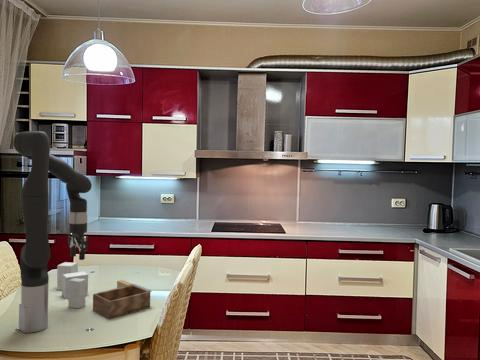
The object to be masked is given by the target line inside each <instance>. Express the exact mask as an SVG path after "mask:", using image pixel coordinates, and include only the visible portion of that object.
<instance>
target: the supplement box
mask: <svg viewBox="0 0 480 360" xmlns="http://www.w3.org/2000/svg"><path fill="white" fill-rule="evenodd" d="M78 263H79V262H67V261H64V262H62V263H60V264H58V265H57V267H56V269H57V270H56V271H57V280H56V281H57V282H56V283H57V285H56V287H57V288H56V290H57V291H62V279H63V274H68V273H76V272H79V271H78V270H79V266H78V265H79V264H78Z"/></svg>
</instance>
